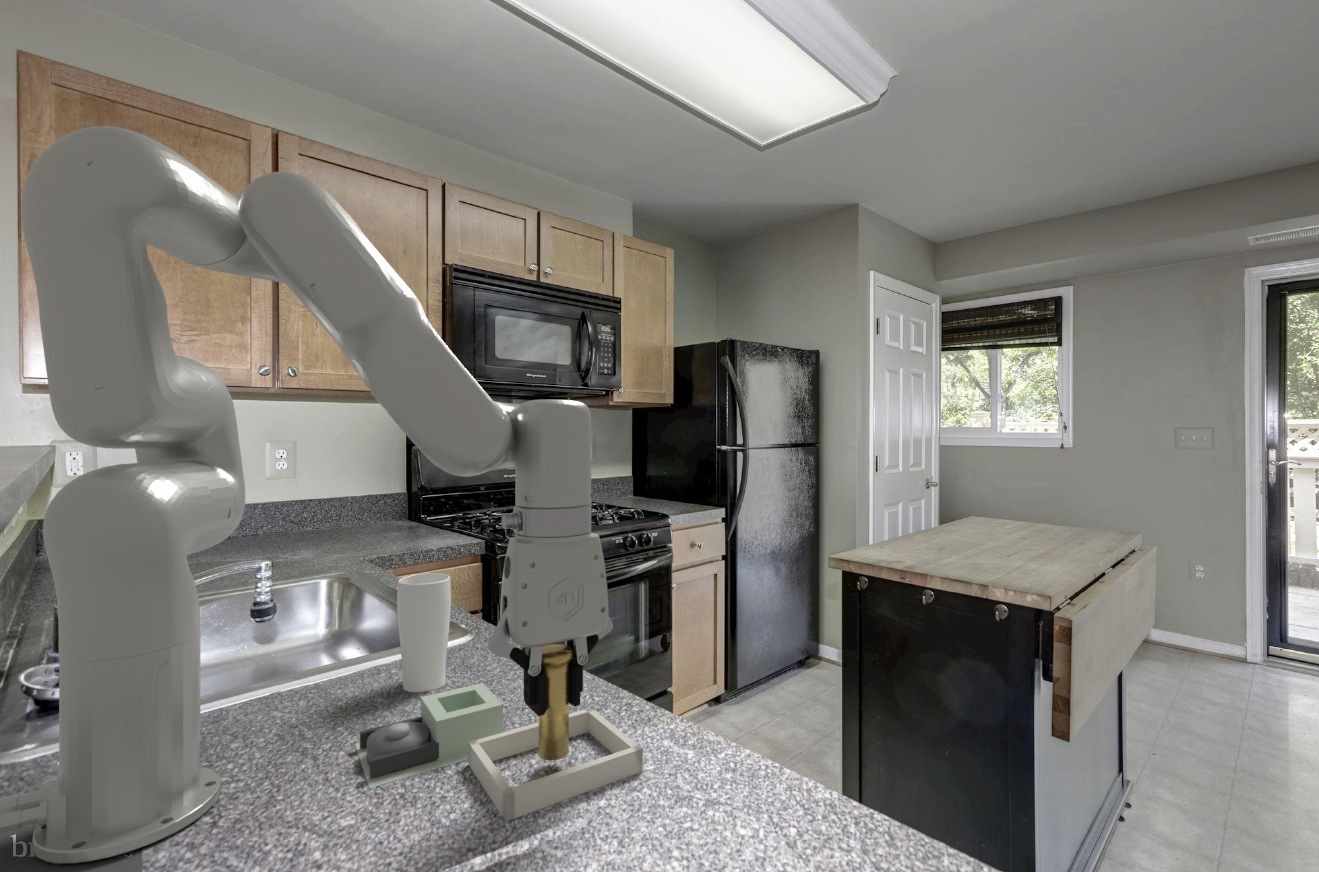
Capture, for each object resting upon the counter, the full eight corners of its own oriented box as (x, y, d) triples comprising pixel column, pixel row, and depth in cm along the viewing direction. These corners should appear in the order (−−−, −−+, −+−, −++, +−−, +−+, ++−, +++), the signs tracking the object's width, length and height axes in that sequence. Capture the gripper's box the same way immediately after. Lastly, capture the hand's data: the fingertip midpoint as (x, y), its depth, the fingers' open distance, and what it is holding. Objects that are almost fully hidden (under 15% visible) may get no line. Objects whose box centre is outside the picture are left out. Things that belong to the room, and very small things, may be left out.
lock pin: (543, 766, 58) (543, 660, 58) (528, 749, 61) (528, 648, 61) (579, 755, 60) (579, 652, 60) (563, 739, 63) (563, 641, 63)
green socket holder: (369, 796, 57) (369, 745, 57) (354, 751, 65) (354, 706, 65) (512, 753, 65) (512, 708, 65) (483, 717, 73) (483, 677, 73)
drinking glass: (432, 702, 77) (432, 585, 77) (386, 698, 79) (385, 583, 79) (460, 681, 84) (460, 573, 84) (416, 677, 85) (416, 571, 85)
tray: (505, 830, 52) (505, 795, 52) (468, 771, 61) (468, 742, 61) (642, 778, 60) (642, 748, 60) (591, 733, 69) (591, 707, 69)
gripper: (484, 535, 53) (484, 744, 53) (642, 520, 62) (642, 699, 62) (460, 525, 59) (460, 712, 59) (607, 513, 68) (607, 675, 68)
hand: (553, 704), depth 60 cm, fingers closed on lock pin, 3 cm apart
